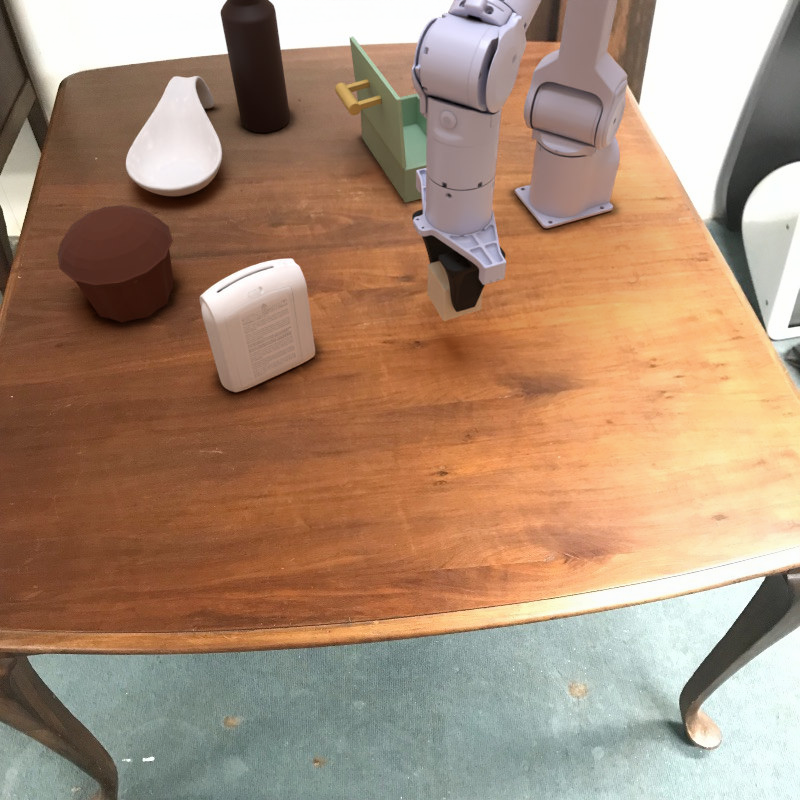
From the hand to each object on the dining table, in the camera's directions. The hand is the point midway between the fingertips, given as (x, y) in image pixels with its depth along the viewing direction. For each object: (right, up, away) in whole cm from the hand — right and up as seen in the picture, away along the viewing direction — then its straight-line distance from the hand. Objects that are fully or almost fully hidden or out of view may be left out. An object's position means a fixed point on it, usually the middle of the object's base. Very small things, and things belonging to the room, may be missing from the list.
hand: (454, 291), depth 74 cm
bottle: (-24, +28, +33) cm, 50 cm away
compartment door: (-8, +25, +18) cm, 32 cm away
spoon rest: (-33, +22, +28) cm, 49 cm away
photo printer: (-19, -7, +5) cm, 20 cm away
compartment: (-4, +21, +26) cm, 34 cm away
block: (0, -1, +1) cm, 1 cm away
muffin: (-35, +1, +12) cm, 37 cm away
